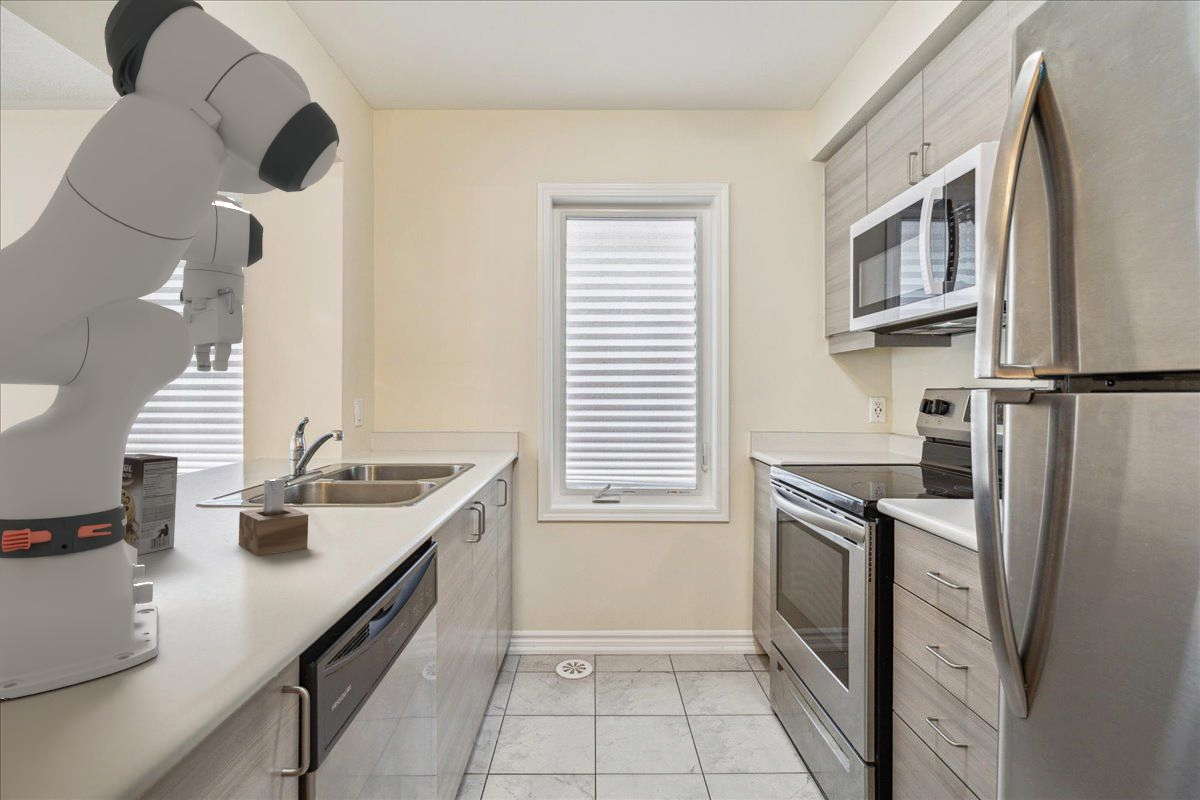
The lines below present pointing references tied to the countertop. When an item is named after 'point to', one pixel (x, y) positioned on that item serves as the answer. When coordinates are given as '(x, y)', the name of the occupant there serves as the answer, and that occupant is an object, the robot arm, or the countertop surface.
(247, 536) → the walnut block
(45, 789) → the countertop surface
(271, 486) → the steel pin
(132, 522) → the coffee box
